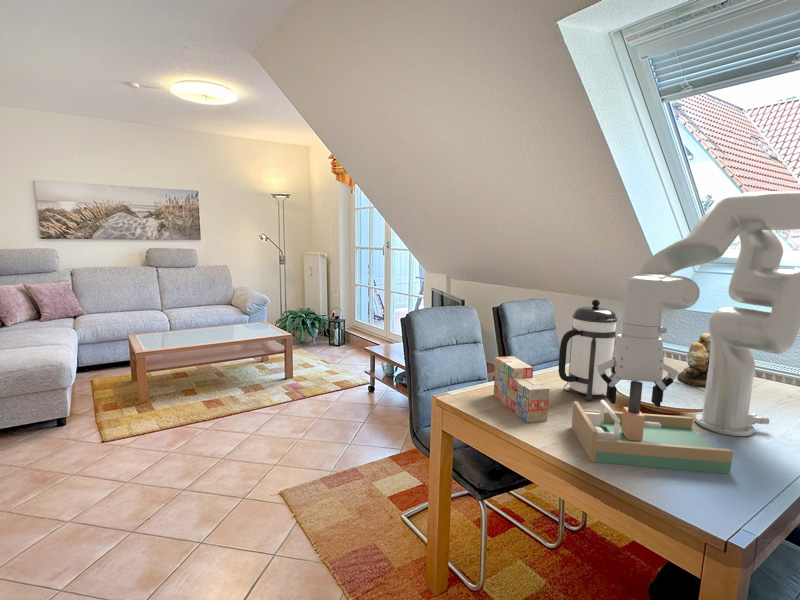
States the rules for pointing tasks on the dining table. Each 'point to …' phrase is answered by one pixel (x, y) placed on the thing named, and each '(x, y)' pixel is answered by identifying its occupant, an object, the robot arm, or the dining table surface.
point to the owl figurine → (697, 363)
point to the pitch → (647, 442)
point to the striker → (635, 415)
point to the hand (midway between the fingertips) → (633, 403)
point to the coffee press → (588, 349)
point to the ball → (598, 428)
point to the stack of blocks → (520, 389)
